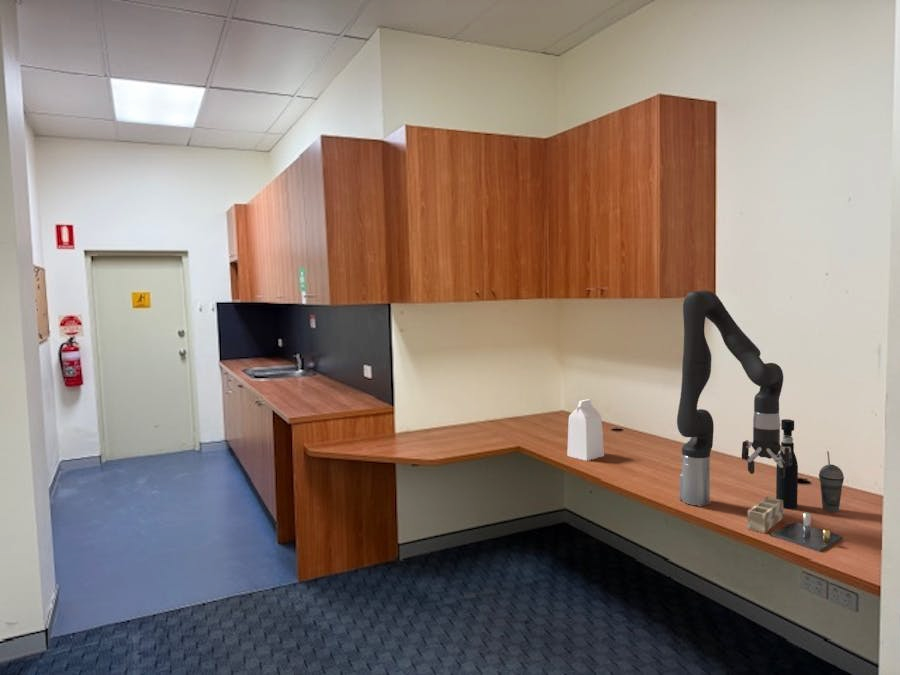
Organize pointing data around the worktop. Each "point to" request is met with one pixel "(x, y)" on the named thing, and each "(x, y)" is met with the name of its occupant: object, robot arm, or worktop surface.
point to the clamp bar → (765, 514)
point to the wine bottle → (788, 470)
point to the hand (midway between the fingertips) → (766, 475)
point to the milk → (585, 432)
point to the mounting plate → (807, 535)
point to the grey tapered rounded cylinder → (831, 486)
